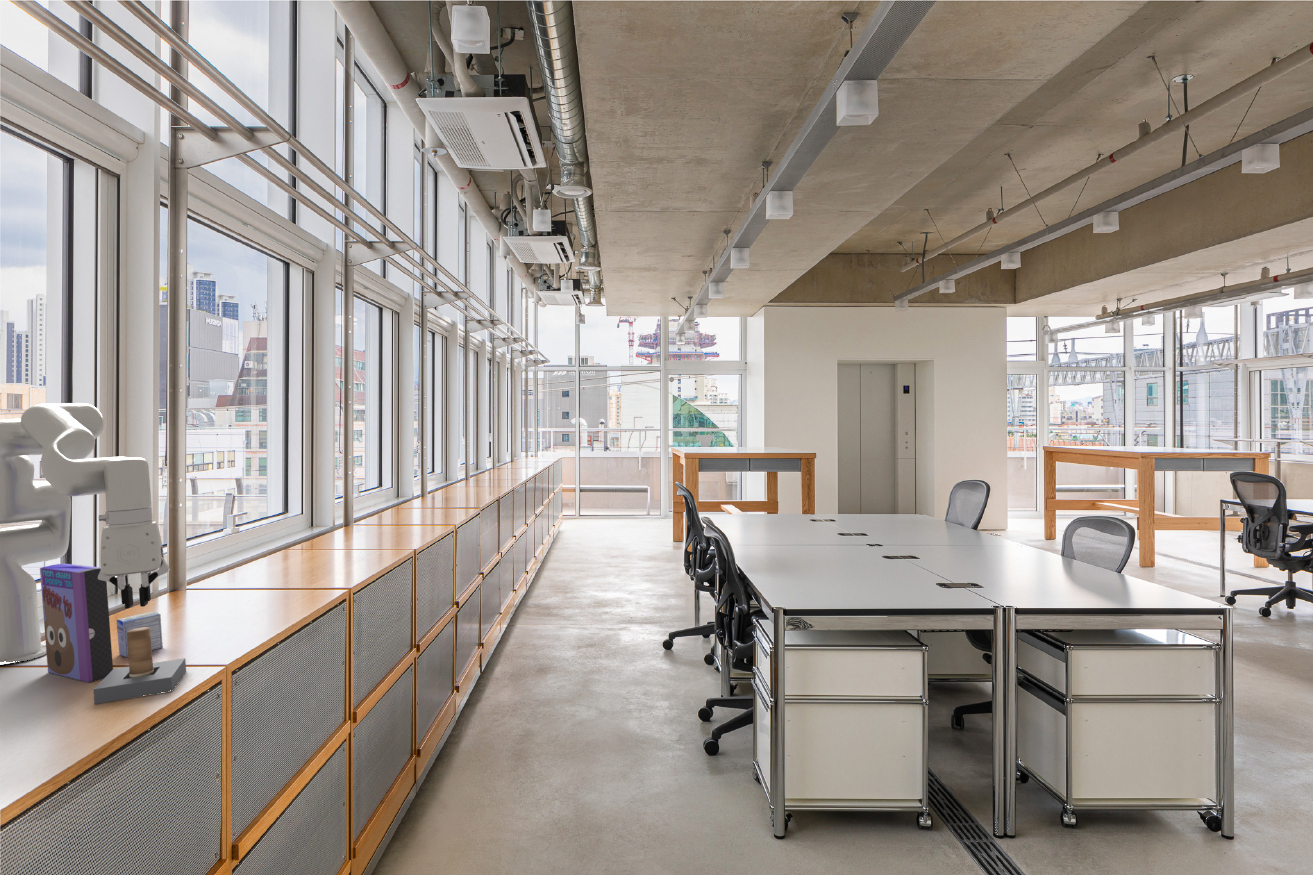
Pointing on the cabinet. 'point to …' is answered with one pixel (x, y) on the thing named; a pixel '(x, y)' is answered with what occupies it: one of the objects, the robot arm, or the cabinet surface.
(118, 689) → the board
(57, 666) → the cereal box
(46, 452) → the robot arm
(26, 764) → the cabinet surface
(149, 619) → the medicine box
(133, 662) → the peg
